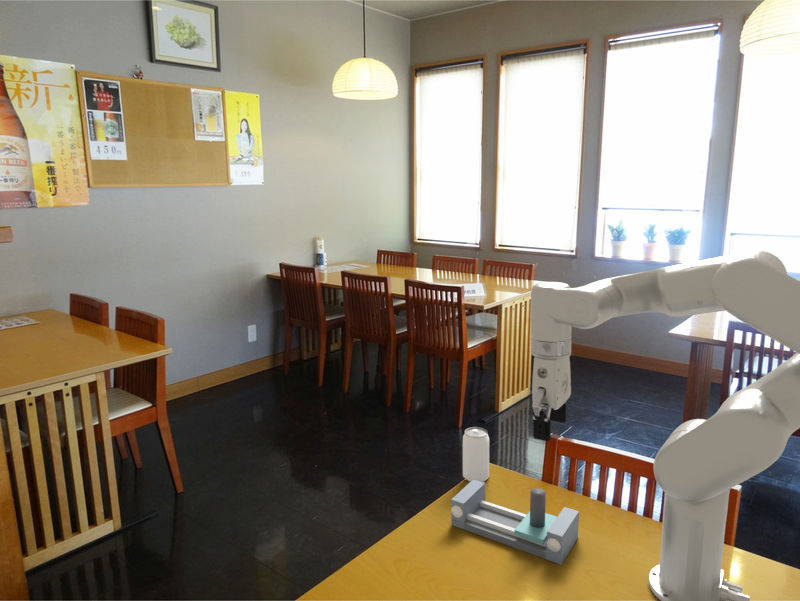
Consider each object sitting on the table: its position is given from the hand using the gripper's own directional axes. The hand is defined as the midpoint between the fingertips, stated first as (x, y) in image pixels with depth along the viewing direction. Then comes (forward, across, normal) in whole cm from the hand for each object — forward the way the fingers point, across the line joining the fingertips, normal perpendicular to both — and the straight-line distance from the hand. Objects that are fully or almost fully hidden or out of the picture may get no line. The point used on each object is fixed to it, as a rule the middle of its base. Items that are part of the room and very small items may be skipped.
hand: (550, 429), depth 112 cm
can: (+23, +15, +24) cm, 36 cm away
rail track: (+23, -2, +7) cm, 24 cm away
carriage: (+21, -2, +2) cm, 21 cm away
